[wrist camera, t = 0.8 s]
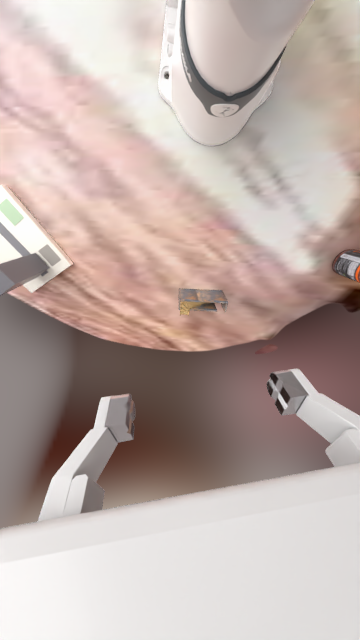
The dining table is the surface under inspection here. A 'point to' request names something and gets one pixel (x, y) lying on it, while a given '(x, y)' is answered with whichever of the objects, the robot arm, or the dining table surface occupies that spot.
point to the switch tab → (20, 271)
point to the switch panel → (27, 239)
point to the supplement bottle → (348, 264)
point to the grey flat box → (200, 300)
